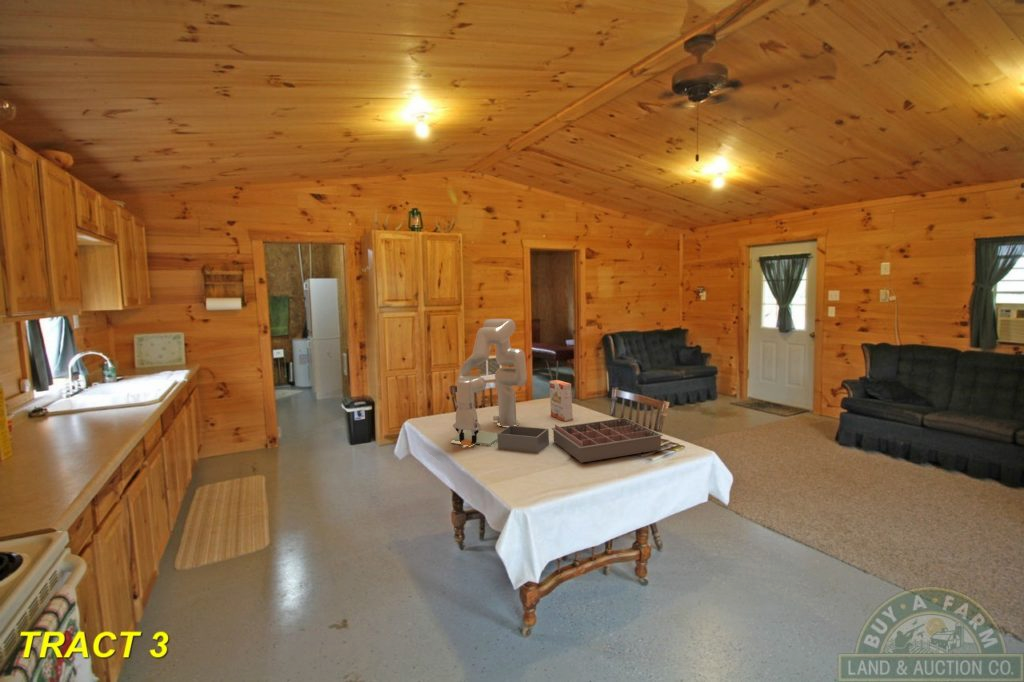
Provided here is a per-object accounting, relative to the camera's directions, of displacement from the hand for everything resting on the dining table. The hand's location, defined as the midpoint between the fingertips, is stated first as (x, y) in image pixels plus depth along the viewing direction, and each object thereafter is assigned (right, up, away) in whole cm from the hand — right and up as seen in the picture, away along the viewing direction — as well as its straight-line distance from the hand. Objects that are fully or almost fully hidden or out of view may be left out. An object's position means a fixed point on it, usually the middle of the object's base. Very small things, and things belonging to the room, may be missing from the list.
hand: (468, 441), depth 238 cm
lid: (+3, -2, +7) cm, 8 cm away
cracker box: (+49, +4, +43) cm, 65 cm away
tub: (+27, -2, -5) cm, 27 cm away
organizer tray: (+64, -1, -10) cm, 65 cm away
